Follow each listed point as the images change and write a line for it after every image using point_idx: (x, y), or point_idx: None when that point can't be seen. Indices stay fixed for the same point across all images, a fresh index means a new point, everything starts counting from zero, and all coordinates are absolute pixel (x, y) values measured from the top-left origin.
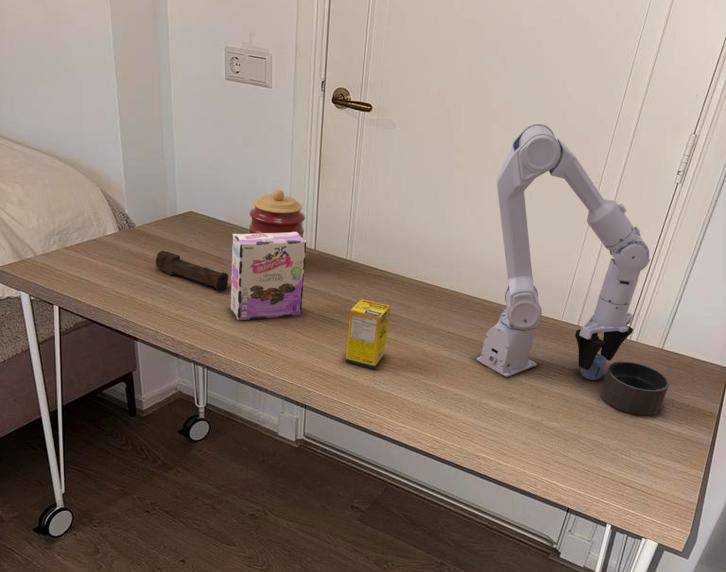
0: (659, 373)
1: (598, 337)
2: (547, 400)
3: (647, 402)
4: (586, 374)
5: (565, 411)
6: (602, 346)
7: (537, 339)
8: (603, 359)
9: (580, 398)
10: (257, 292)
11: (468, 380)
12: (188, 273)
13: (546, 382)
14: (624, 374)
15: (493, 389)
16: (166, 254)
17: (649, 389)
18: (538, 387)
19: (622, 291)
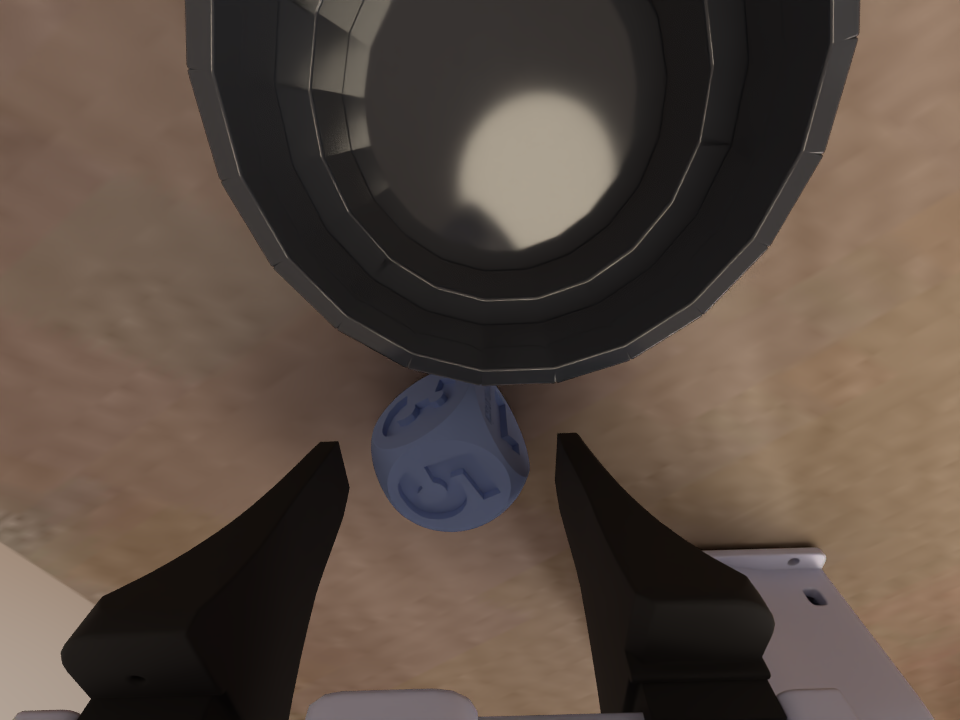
0: (212, 10)
1: (633, 668)
2: (890, 364)
3: None
4: (512, 420)
5: (948, 249)
6: (331, 546)
7: (413, 649)
8: (424, 457)
9: (733, 296)
10: None
11: (946, 581)
12: None
13: (714, 461)
14: (400, 288)
15: (956, 514)
16: None
17: (327, 65)
18: (791, 451)
19: None
